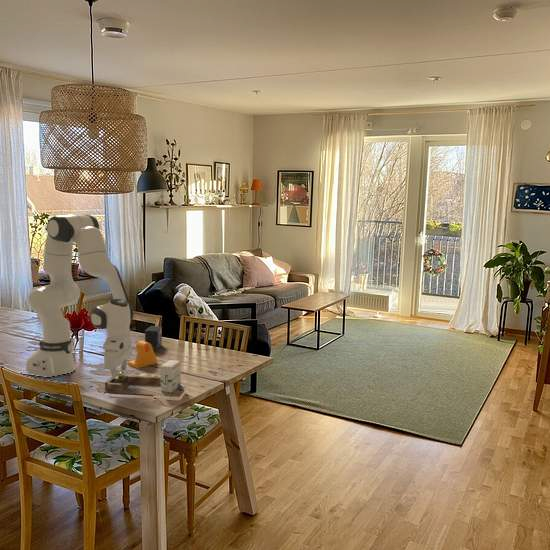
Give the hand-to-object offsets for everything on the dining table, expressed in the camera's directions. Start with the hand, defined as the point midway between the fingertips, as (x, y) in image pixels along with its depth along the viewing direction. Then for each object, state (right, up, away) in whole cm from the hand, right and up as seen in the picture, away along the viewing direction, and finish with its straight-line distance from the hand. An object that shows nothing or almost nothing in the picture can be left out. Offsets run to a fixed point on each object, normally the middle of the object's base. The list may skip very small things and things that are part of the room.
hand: (119, 373), depth 221 cm
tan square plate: (+8, -5, +13) cm, 16 cm away
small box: (+1, +2, +58) cm, 59 cm away
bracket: (+2, -2, +30) cm, 30 cm away
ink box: (+21, -7, 0) cm, 22 cm away
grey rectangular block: (+1, -6, +1) cm, 6 cm away
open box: (+5, -7, 0) cm, 9 cm away
